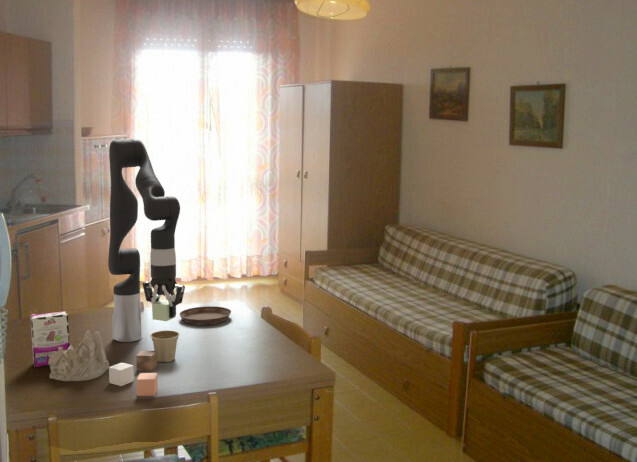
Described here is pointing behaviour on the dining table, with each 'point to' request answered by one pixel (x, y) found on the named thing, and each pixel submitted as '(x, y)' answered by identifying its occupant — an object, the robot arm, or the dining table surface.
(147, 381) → the terracotta cube
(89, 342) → the ceramic cottage
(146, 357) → the walnut cube
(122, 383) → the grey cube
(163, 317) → the sage cube
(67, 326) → the candy bar box
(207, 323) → the plant saucer
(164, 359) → the flower pot
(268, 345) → the dining table surface
